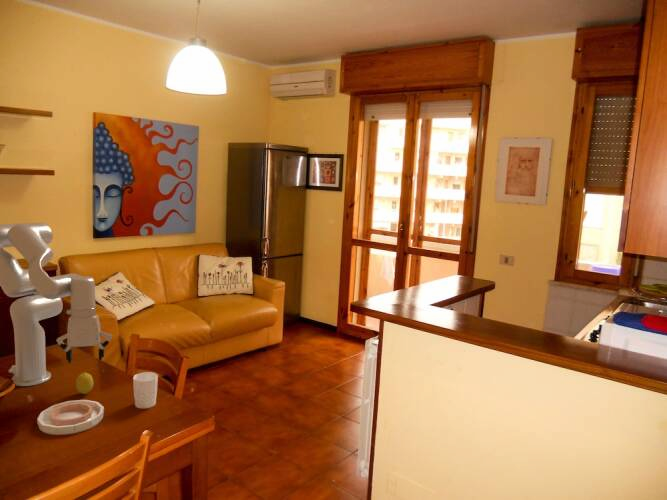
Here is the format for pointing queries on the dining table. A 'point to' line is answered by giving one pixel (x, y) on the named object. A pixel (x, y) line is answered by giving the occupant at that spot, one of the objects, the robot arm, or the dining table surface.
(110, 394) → the dining table surface
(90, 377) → the lemon
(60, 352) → the dining table surface
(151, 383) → the white cup
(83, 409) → the fruit dish
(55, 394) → the dining table surface
